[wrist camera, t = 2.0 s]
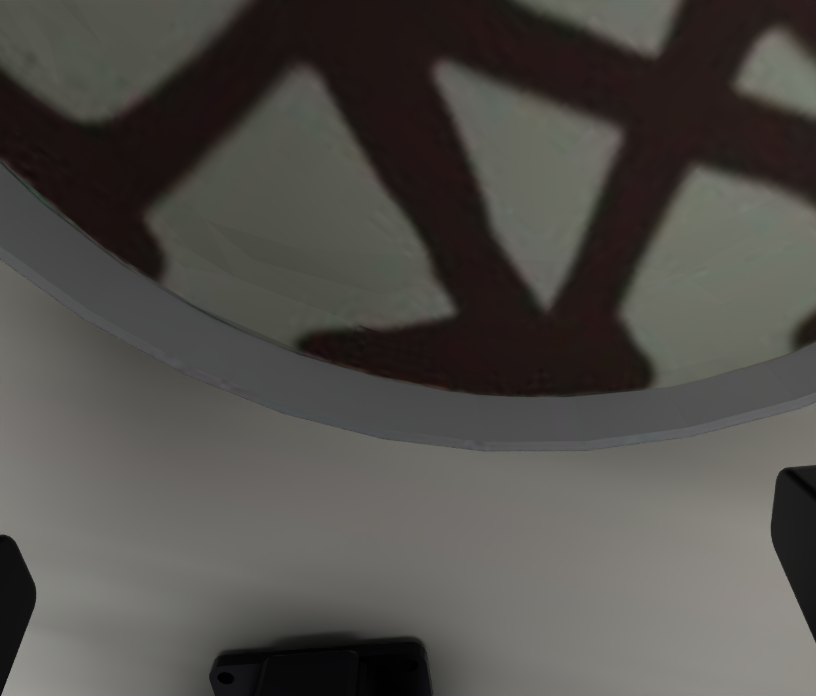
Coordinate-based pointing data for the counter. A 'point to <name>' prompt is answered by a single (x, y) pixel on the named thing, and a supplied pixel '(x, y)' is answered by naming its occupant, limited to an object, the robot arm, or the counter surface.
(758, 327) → the food container
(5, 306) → the counter surface
